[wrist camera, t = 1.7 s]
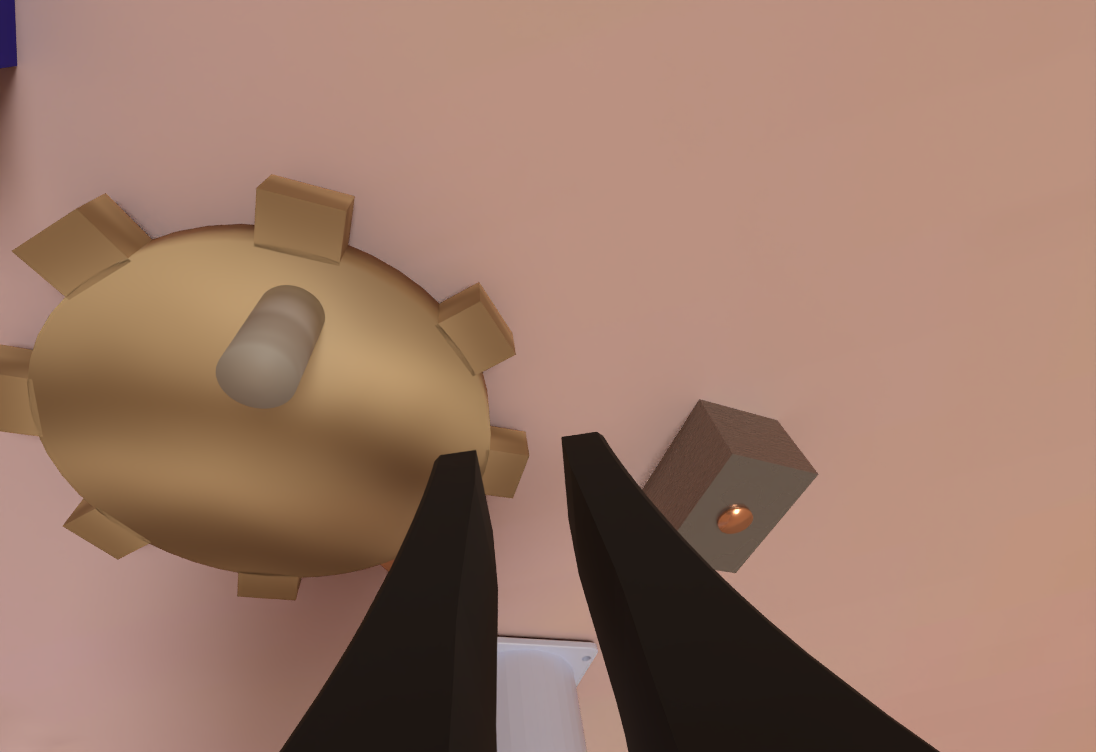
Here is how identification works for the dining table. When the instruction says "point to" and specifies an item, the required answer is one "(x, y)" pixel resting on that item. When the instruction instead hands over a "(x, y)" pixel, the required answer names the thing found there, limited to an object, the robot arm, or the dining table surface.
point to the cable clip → (7, 34)
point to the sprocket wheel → (252, 388)
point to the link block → (728, 482)
